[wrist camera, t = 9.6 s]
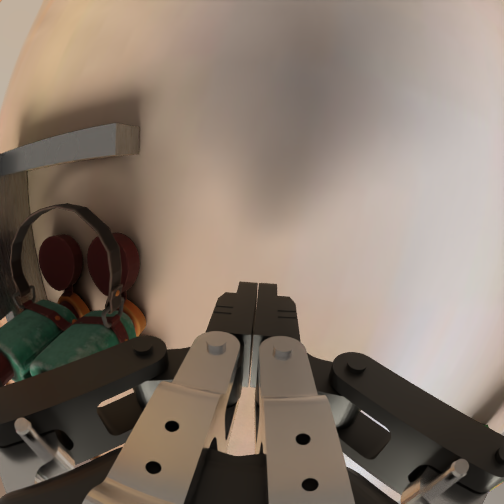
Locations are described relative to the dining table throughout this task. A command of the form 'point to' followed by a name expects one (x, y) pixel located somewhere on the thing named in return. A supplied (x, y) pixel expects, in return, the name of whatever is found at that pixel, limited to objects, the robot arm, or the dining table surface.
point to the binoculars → (69, 301)
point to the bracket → (17, 204)
